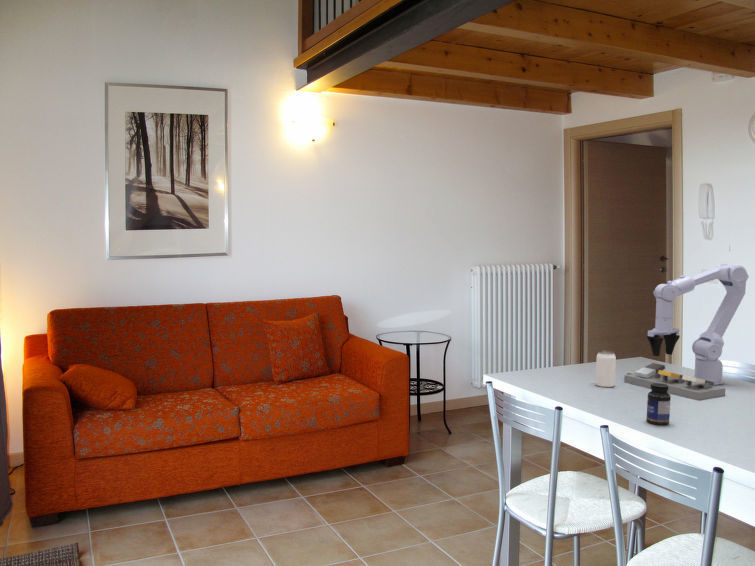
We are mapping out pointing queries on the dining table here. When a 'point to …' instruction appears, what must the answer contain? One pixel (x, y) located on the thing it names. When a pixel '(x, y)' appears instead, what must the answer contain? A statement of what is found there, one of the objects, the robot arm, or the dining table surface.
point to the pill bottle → (658, 404)
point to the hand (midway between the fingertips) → (662, 355)
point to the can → (605, 369)
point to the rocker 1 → (649, 370)
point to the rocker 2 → (670, 374)
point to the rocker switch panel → (678, 386)
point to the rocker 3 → (697, 380)
